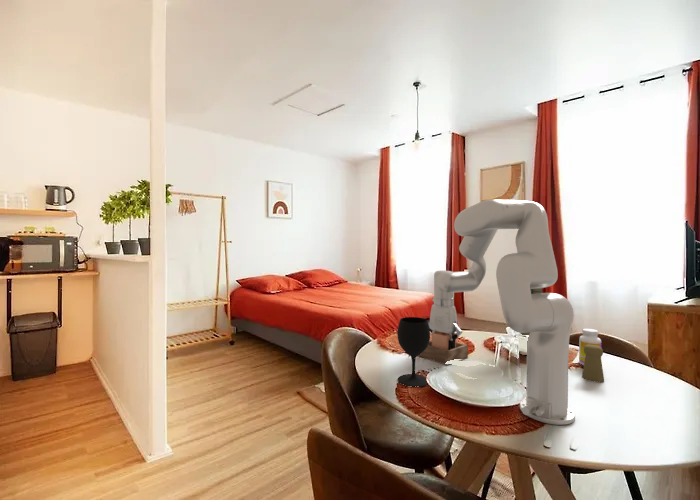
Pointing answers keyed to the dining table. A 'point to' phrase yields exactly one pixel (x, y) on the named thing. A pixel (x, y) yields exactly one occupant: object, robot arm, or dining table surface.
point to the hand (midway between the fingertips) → (443, 347)
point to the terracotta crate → (441, 340)
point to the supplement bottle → (587, 342)
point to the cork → (593, 364)
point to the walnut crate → (445, 353)
